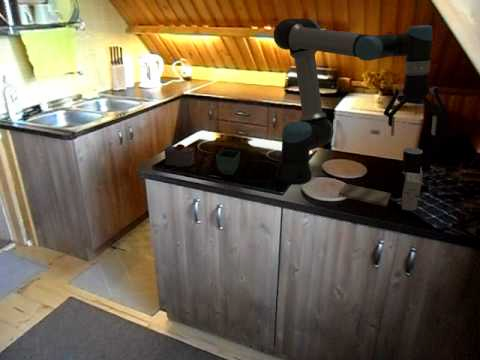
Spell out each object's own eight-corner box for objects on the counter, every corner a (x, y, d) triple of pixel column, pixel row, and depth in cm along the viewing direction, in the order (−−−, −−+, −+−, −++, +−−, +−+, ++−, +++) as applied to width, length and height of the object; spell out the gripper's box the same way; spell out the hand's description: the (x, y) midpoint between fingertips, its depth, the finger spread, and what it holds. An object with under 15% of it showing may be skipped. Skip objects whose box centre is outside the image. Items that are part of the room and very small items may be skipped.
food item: (196, 162, 182) (196, 142, 178) (192, 169, 174) (191, 148, 170) (169, 160, 183) (167, 141, 179) (163, 167, 176) (162, 146, 172)
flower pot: (215, 175, 168) (215, 156, 164) (222, 168, 176) (221, 149, 172) (235, 177, 166) (235, 158, 162) (240, 170, 174) (240, 151, 170)
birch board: (338, 195, 151) (338, 192, 151) (345, 186, 159) (345, 183, 159) (386, 206, 143) (386, 203, 143) (390, 196, 151) (391, 193, 151)
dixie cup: (395, 172, 173) (399, 149, 168) (404, 168, 177) (409, 146, 173) (411, 178, 167) (416, 154, 163) (421, 173, 172) (426, 150, 167)
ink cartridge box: (400, 199, 149) (407, 164, 143) (414, 201, 147) (422, 166, 141) (401, 209, 141) (408, 172, 135) (415, 211, 140) (424, 174, 134)
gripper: (379, 76, 132) (376, 137, 139) (460, 72, 125) (453, 136, 132) (377, 74, 138) (375, 132, 145) (455, 70, 131) (448, 131, 138)
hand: (412, 134), depth 139 cm, fingers open, 13 cm apart
